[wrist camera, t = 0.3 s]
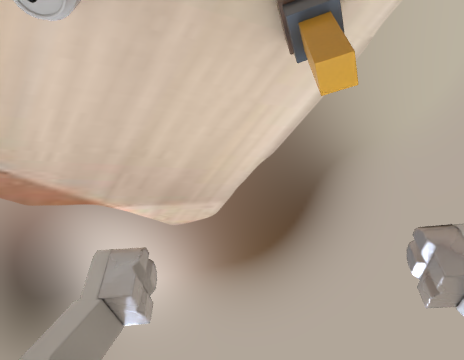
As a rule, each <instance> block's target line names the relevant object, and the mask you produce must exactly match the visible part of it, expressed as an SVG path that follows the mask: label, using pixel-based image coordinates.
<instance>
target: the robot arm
mask: <svg viewBox="0 0 464 360" xmlns="http://www.w3.org/2000/svg"><path fill="white" fill-rule="evenodd" d="M413 236H414V239H415V240H413V241H412V242H410V243H409V245H408V248H407V261H408V265H409V268H410V270H411V273H412V274H413V275H414V276H416V277H417V278H418V279H419V280H420V281H419V283H418V286H417V288H418V290H419V293H420V295H421V298H422V300H423V302H424V305H425V307H426V308H439V307H440V308H441V307H457V308H456V309H457V310H458V311H459V312H460V313H461V314H462V315H463V316H464V224H456V225H452V224H451V225H439V226H427V227H418V228H416V229H415V230H414V232H413ZM148 257H149V252H148V250H147V249H146V248H130V249H111V250H99V251H97V252H96V253H95V255H94V256H93V259H92V262H91V266H90V268H89V272H88V275H87V278H86V281H85V284H84V288H83V291H82V294H81V297H80V300H77V301H74V302H73V303H72V304H71V305H70V306H69V307H68V308H67V310H66V311H65V312H64V313H63V314H62V315H61V316H60V317H59V318H58V319H57V320H56V321H55V322H54V323H53V324H52V325H51V326H50V327H49V328H48V330H47V331H46V332H45V333H44V334H43V335H42V336H41V337H40V338H39V339H38V340H37V341H36V342H35V343H34V344H33V345H32V346H31V347H30V348H29V349H28V351H27V352H26V353H25V354H24V355H23V356H22V357H21V358H20V359H19V360H101V359H102V358H103V357H104V355H105V354H106V352H107V351H108V349H109V348H110V346H111V345H112V344H113V342H114V341H115V339H116V338H117V337H118V335H119V334H120V332H121V331H122V329H123V328H124V326H123V325H133V324H146V323H150V320H151V314H152V308H153V301H152V299H151V298H150V295H151V294H152V293H153V292H154V290H155V289H156V281H157V273H156V272H157V271H156V267H155V264H154V262H153V261H152V260H150V259H148Z"/></svg>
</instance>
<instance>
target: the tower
mask: <svg viewBox="0 0 464 360" xmlns="http://www.w3.org/2000/svg"><path fill="white" fill-rule="evenodd" d="M276 2H277V6H278V10H279V14H280V18H281V22H282V26H283V30H284V34H285V38H286V42H287V45H288V48H289V51H290V54H293V53H294V54H295V58H296V61H297V63H300V62H303V61H306V60H308V59H307V57H306V54H305V51H304V46H303V42H302V37H301V33H300V28H299V22H302V21H305V20H308V19H310V18H313V17H316V16H319V15H322V14H325V13H327V12H330V11H331V13H332V15H333V16H334V18H335V20H336V21H337V23H338V25H339V26H340V28H341V30H342V31H343V33H344V27H343V20H342V12H341V5H340V0H276Z"/></svg>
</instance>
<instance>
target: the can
mask: <svg viewBox="0 0 464 360" xmlns="http://www.w3.org/2000/svg"><path fill="white" fill-rule="evenodd" d="M13 1H14V2H15V3H16V4H17V6H18V7H19V8H21V9H22V10H23V11H24V12H26V13H27V14H29V15H31V16H33V17H35V18H38V19H43V20H50V21H54V20H61V19H63V18H65V17H67V16H69V14H70V13H71V12H72V11H73V10H74V9H75V7H76V6H77V5H78V4H79V3H80V1H81V0H13Z"/></svg>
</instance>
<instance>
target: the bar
mask: <svg viewBox="0 0 464 360" xmlns="http://www.w3.org/2000/svg"><path fill="white" fill-rule="evenodd" d="M299 28H300V33H301V37H302V42H303V46H304V51H305V54H306V57H307V59H308V62H309V65H310V67H311V70H312V73H313V75H314V78H315V81H316V83H317V86H318V89H319V91H320V94H321V96H323V95H326V94H329V93H333V92H336V91H339V90H342V89H346V88H349V87H352V86H356V85H358V77H357V68H356V59H355V51H354V49H353V48H352V46H351V44H350V43H349V41H348V39H347V38H346V36H345V34H344V33H343V31H342V30H341V28H340V26H339V25H338V23H337V21H336V20H335V18H334V16H333V15H332V13H331V11H330V12H327V13H325V14H322V15H319V16H316V17H313V18H310V19H308V20H305V21H302V22H299Z"/></svg>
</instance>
